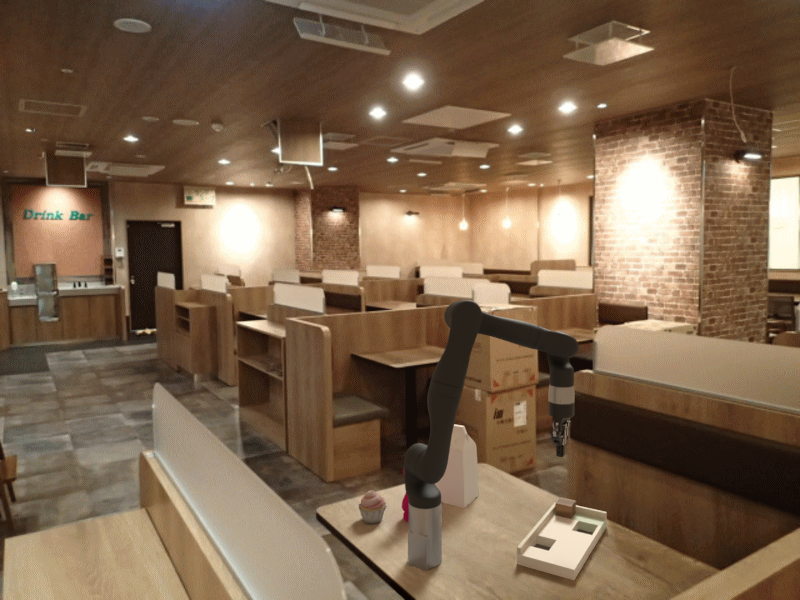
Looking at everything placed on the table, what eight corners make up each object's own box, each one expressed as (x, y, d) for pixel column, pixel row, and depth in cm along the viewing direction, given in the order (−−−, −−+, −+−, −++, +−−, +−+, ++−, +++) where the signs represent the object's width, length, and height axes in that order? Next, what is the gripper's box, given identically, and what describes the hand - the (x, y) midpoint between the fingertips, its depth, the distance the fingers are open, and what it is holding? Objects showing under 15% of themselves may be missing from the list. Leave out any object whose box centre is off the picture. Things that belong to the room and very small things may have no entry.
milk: (479, 495, 218) (479, 423, 215) (464, 508, 209) (464, 432, 206) (448, 488, 225) (448, 418, 222) (433, 500, 215) (432, 427, 212)
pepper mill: (415, 526, 197) (414, 465, 194) (397, 519, 201) (396, 460, 199) (428, 517, 202) (427, 458, 200) (410, 511, 207) (409, 453, 204)
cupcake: (391, 523, 199) (390, 493, 198) (363, 528, 196) (362, 498, 194) (381, 510, 208) (380, 482, 206) (354, 516, 204) (353, 486, 203)
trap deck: (574, 580, 165) (574, 562, 165) (517, 564, 174) (517, 547, 173) (606, 527, 194) (606, 512, 193) (555, 515, 202) (556, 500, 202)
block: (571, 519, 193) (571, 506, 193) (555, 515, 196) (555, 503, 195) (575, 512, 197) (576, 500, 197) (560, 509, 200) (560, 497, 200)
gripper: (567, 406, 177) (566, 465, 179) (580, 395, 188) (579, 451, 190) (541, 403, 181) (540, 460, 183) (556, 392, 192) (555, 447, 194)
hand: (560, 455), depth 187 cm, fingers closed
